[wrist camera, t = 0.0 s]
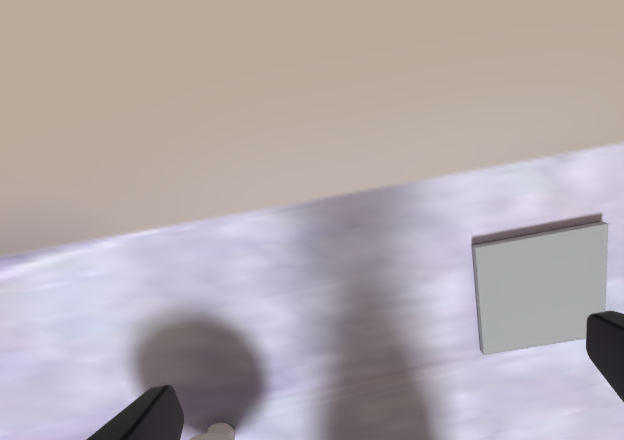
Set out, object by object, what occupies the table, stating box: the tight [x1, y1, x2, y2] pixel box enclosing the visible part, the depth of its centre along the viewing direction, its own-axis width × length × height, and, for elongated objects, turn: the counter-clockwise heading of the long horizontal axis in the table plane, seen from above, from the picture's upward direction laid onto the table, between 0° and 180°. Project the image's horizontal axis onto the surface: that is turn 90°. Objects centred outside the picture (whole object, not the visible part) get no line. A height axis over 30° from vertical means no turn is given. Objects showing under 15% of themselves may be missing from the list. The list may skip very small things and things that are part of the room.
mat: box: [472, 221, 608, 355], centre depth 23 cm, size 8×8×1 cm
